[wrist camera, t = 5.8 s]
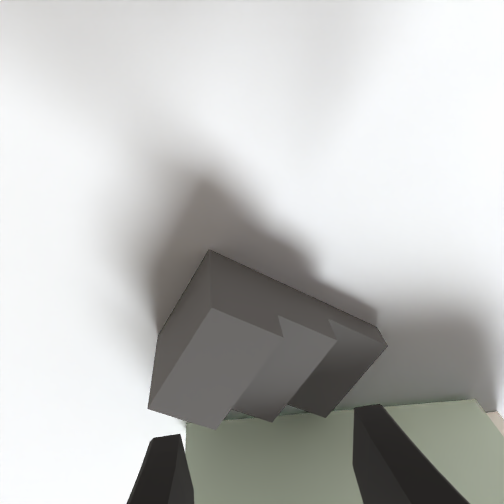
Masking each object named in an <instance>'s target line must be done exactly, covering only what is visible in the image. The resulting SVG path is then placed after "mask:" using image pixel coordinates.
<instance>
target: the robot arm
mask: <svg viewBox="0 0 504 504" xmlns="http://www.w3.org/2000/svg"><path fill="white" fill-rule="evenodd" d="M352 465H353V469H354V473H355V476H356V480H357V483H358V487H359V490H360V494H361V497H362V500H363V504H470V503H469V502H468V501H467V500H466V499H465V498H464V497H463V496H462V495H461V494H460V493H459V492H458V491H457V490H456V489H455V488H454V486H453V485H452V484H451V483H450V482H449V481H448V480H447V479H446V478H445V477H444V476H443V475H442V474H441V473H440V472H439V471H438V470H437V469H436V467H435V466H434V465H433V464H432V463H431V462H430V461H429V460H428V459H427V458H426V456H425V455H424V454H423V453H422V452H421V451H420V450H419V449H418V447H417V446H416V445H415V444H414V443H413V442H412V441H411V439H410V438H409V437H408V436H407V435H406V434H405V432H404V431H403V430H402V429H401V428H400V426H399V425H398V424H397V423H396V422H395V420H394V419H393V418H392V417H391V416H390V414H389V413H388V412H387V411H386V409H385V408H384V407H383V406H382V405H380V404H376V405H370V406H363V407H356V408H354V428H353V460H352ZM127 504H194V488H193V484H192V480H191V476H190V472H189V468H188V464H187V460H186V455H185V451H184V447H183V443H182V439H181V435H180V434H176V435H169V436H163V437H156V438H153V439H152V440H151V441H150V443H149V446H148V449H147V452H146V455H145V458H144V461H143V463H142V466H141V469H140V472H139V474H138V477H137V479H136V482H135V484H134V487H133V489H132V492H131V494H130V497H129V499H128V502H127Z"/></svg>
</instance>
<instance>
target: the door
mask: <svg viewBox="0 0 504 504" xmlns="http://www.w3.org/2000/svg"><path fill="white" fill-rule="evenodd" d="M384 408H385V409H386V411H387V412H388V413H389V414H390V416H391V417H392V418H393V419H394V420H395V422H396V423H397V424H398V425H399V426H400V428H401V429H402V430H403V431H404V432H405V434H406V435H407V436H408V437H409V438H410V439H411V441H412V442H413V443H414V444H415V445H416V446H417V447H418V449H419V450H420V451H421V452H422V453H423V454H424V455H425V456H426V458H427V459H428V460H429V461H430V462H431V463H432V464H433V465H434V466H435V467H436V469H437V470H438V471H439V472H440V473H441V474H442V475H443V476H444V477H445V478H446V479H447V480H448V481H449V482H450V483H451V484H452V485H453V486H454V488H455V489H456V490H457V491H458V492H459V493H460V494H461V495H462V496H463V497H464V498H465V499H466V500H467V501H468V502H469V503H470V504H504V437H503V435H502V434H501V433H500V431H499V430H498V429H497V427H496V426H495V425H494V423H493V422H492V421H491V419H490V418H489V417H488V415H487V414H486V413H485V411H484V410H483V409H482V407H481V406H480V404H479V403H478V402H477V400H476V399H469V400H457V401H445V402H433V403H421V404H410V405H398V406H386V407H384ZM353 428H354V409H351V410H339V411H331V413H330V414H329V415H328V416H327V417H326V418H324V417H321V416H318V415H316V414H313V413H304V414H292V415H280V416H277V417H276V418H275V420H274V421H273V422H272V423H271V422H268V421H265V420H262V419H260V418H245V419H233V420H223V421H222V422H221V424H220V425H219V426H218V428H217V429H216V430H213V429H210V428H207V427H204V426H200V425H197V424H194V423H187V424H186V449H185V455H186V460H187V464H188V468H189V472H190V476H191V480H192V484H193V488H194V504H363V500H362V497H361V494H360V490H359V487H358V483H357V480H356V476H355V473H354V469H353V465H352V460H353Z"/></svg>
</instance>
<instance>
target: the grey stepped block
mask: <svg viewBox="0 0 504 504" xmlns="http://www.w3.org/2000/svg"><path fill="white" fill-rule="evenodd" d="M387 346H388V345H387V343H386V342H385V340H384V338H383V337H382V335H381V333H380V332H379V330H378V328H377V327H375V326H373V325H371V324H369V323H367V322H365V321H362V320H360V319H358V318H356V317H354V316H352V315H349V314H347V313H345V312H343V311H341V310H339V309H337V308H334V307H332V306H330V305H328V304H326V303H324V302H321V301H319V300H317V299H315V298H313V297H311V296H309V295H306V294H304V293H302V292H300V291H298V290H296V289H293V288H291V287H289V286H287V285H285V284H283V283H280V282H278V281H276V280H274V279H272V278H270V277H268V276H265V275H263V274H261V273H259V272H257V271H255V270H252V269H250V268H248V267H246V266H244V265H242V264H240V263H237V262H235V261H233V260H231V259H229V258H227V257H224V256H222V255H220V254H218V253H216V252H214V251H212V250H209V251H208V252H207V254H206V256H205V258H204V259H203V261H202V263H201V264H200V266H199V268H198V269H197V271H196V273H195V274H194V276H193V278H192V279H191V281H190V283H189V285H188V286H187V288H186V290H185V291H184V293H183V295H182V296H181V298H180V300H179V301H178V303H177V305H176V307H175V308H174V310H173V312H172V313H171V315H170V317H169V318H168V320H167V322H166V323H165V325H164V327H163V328H162V330H161V332H160V334H159V335H158V339H157V346H156V353H155V360H154V367H153V374H152V381H151V388H150V395H149V402H148V409H150V410H153V411H156V412H159V413H162V414H166V415H169V416H172V417H175V418H178V419H181V420H185V421H188V422H191V423H194V424H197V425H200V426H204V427H207V428H210V429H213V430H216V429H217V428H218V426H219V425H220V424H221V422H222V421H223V420H224V418H225V417H226V416H227V414H228V413H229V411H230V410H231V409H233V410H236V411H239V412H242V413H245V414H248V415H251V416H254V417H257V418H260V419H262V420H265V421H268V422H271V423H272V422H273V421H274V420H275V418H276V417H277V416H278V415H279V413H280V412H281V411H282V410H283V408H284V407H285V406H286V405H287V404H288V405H290V406H293V407H296V408H299V409H302V410H304V411H307V412H310V413H313V414H316V415H318V416H321V417H324V418H326V417H327V416H328V415H329V414H330V413H331V411H332V410H333V409H334V408H335V407H336V406H337V404H338V403H339V402H340V401H341V400H342V399H343V397H344V396H345V395H346V394H347V393H348V392H349V391H350V389H351V388H352V387H353V386H354V385H355V384H356V382H357V381H358V380H359V379H360V378H361V377H362V375H363V374H364V373H365V372H366V371H367V370H368V368H369V367H370V366H371V365H372V364H373V363H374V361H375V360H376V359H377V358H378V357H379V356H380V354H381V353H382V352H383V351H384V350H385V349H386V347H387Z"/></svg>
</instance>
